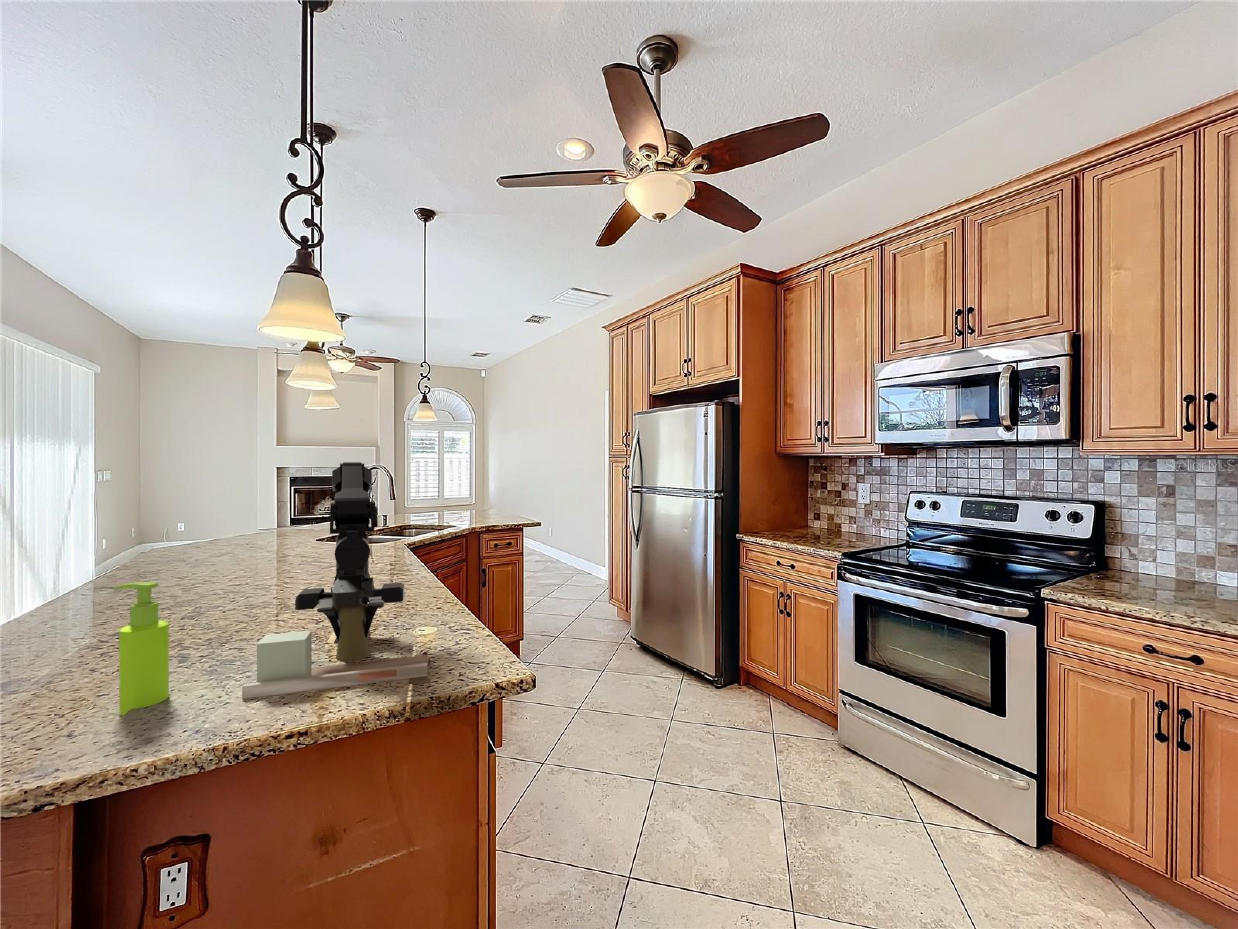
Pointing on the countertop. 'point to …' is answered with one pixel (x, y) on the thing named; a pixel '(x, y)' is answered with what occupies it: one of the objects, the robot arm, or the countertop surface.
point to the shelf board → (345, 676)
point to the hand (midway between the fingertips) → (352, 639)
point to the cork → (352, 633)
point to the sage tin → (284, 656)
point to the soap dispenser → (143, 653)
